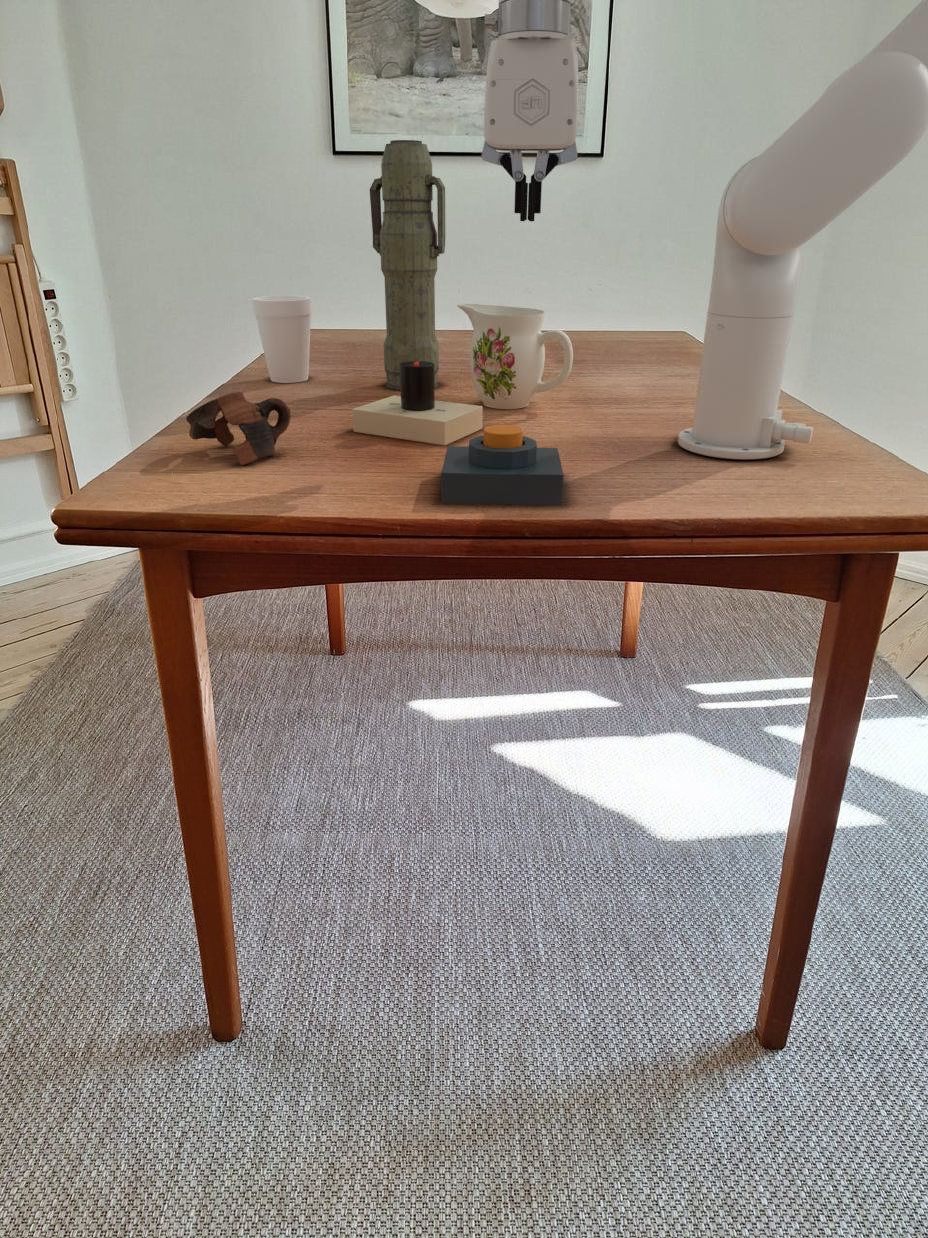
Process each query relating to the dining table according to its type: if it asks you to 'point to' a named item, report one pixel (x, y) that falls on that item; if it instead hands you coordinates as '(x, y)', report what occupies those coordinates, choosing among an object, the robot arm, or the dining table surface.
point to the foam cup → (285, 335)
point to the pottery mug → (241, 424)
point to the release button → (502, 436)
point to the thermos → (408, 253)
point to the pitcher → (511, 354)
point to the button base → (502, 474)
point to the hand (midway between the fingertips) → (527, 220)
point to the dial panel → (418, 421)
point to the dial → (417, 385)
